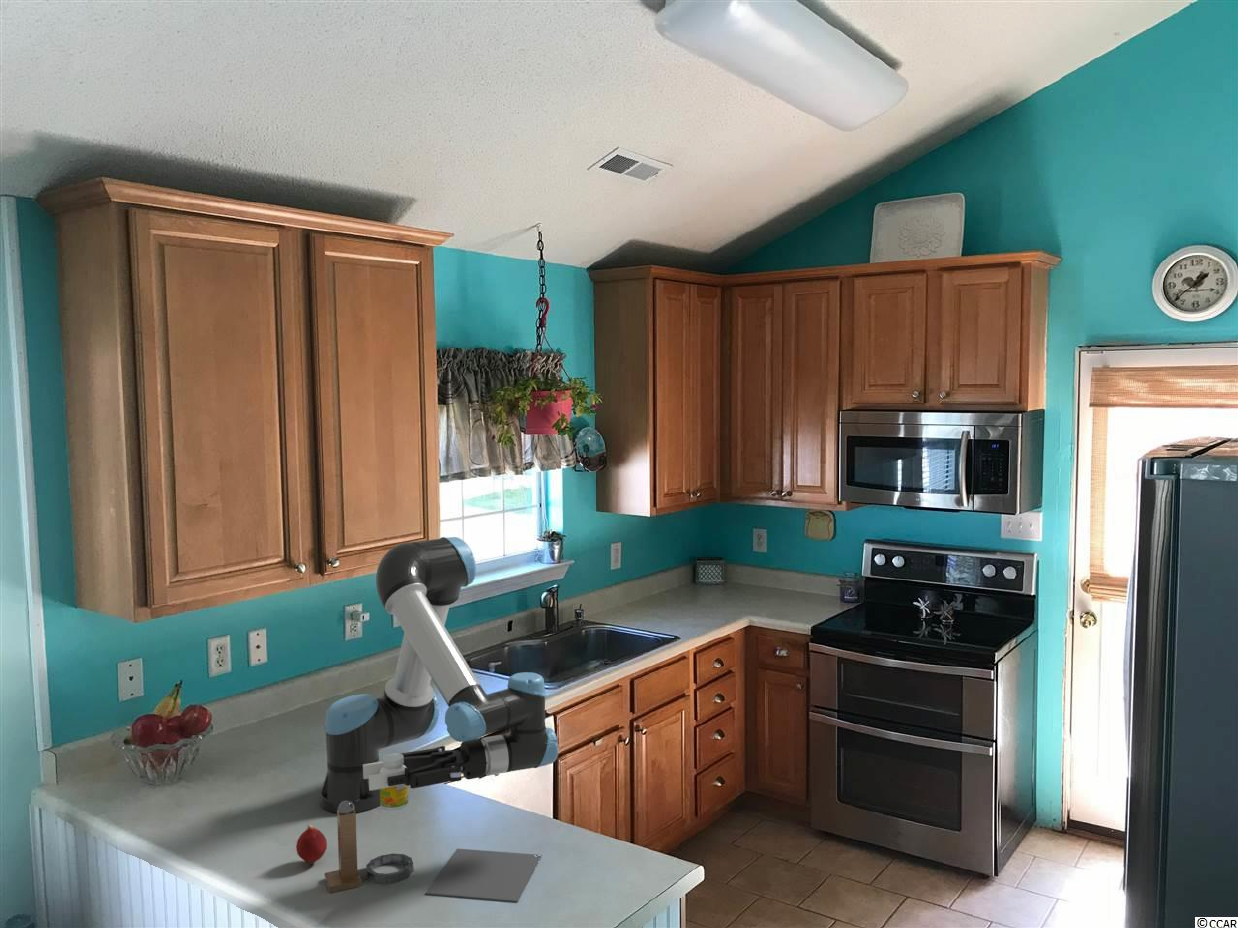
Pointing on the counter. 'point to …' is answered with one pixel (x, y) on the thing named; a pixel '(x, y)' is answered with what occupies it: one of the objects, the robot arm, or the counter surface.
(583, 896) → the counter surface
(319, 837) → the onion
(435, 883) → the mat
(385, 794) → the supplement bottle
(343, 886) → the ring stand
